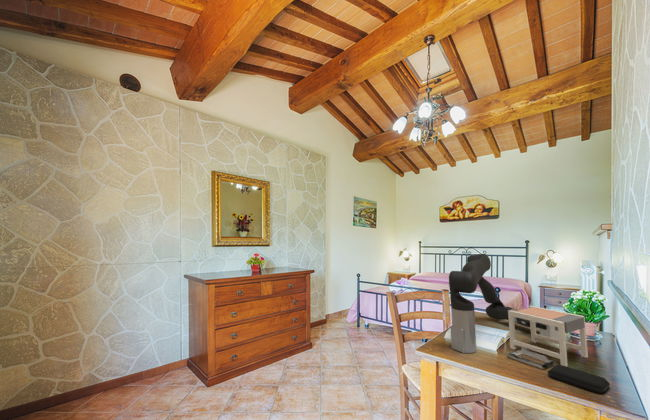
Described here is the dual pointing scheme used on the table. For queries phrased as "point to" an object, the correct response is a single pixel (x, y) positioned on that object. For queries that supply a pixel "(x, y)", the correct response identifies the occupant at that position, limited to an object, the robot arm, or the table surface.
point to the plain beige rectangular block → (550, 332)
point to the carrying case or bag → (579, 378)
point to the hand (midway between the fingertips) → (552, 326)
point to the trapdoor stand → (534, 336)
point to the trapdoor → (557, 318)
